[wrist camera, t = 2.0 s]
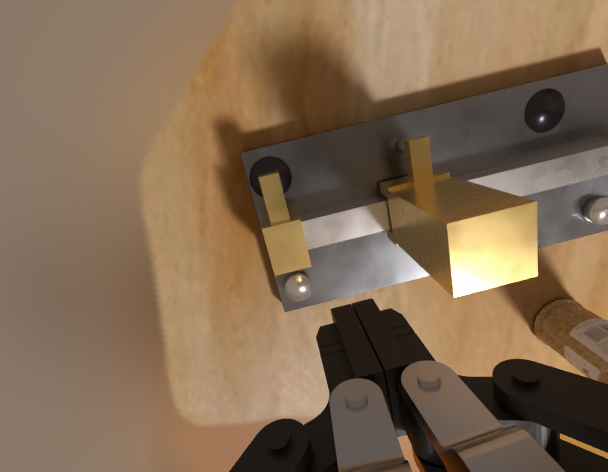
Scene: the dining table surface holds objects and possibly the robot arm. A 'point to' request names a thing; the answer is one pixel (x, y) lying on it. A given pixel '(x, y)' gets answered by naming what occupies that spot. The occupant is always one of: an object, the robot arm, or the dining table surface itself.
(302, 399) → the dining table surface
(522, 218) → the block
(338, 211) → the beam
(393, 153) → the metal base plate
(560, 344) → the sprinkles bottle
